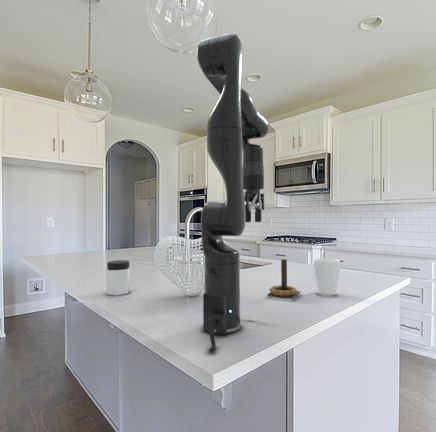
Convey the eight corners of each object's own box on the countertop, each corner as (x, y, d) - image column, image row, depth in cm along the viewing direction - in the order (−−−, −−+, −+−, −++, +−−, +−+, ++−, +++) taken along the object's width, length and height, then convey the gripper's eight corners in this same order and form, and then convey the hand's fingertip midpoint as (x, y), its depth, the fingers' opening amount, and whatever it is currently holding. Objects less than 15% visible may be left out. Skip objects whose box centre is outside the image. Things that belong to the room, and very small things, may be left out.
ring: (292, 297, 104) (292, 292, 104) (265, 294, 109) (265, 289, 109) (300, 291, 112) (300, 286, 112) (275, 288, 117) (275, 284, 117)
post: (292, 301, 105) (292, 261, 105) (268, 297, 109) (267, 260, 110) (300, 295, 113) (299, 258, 113) (276, 292, 117) (276, 257, 117)
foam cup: (345, 295, 112) (345, 260, 112) (329, 299, 107) (329, 262, 107) (324, 290, 120) (323, 257, 120) (308, 294, 115) (308, 259, 115)
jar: (126, 289, 124) (126, 259, 124) (133, 293, 118) (133, 261, 118) (103, 292, 119) (103, 261, 119) (109, 296, 112) (109, 264, 112)
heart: (228, 290, 122) (228, 234, 122) (232, 300, 106) (232, 236, 106) (157, 291, 120) (157, 234, 120) (150, 302, 104) (150, 237, 104)
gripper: (252, 178, 114) (252, 222, 114) (233, 173, 102) (233, 222, 102) (270, 177, 111) (270, 222, 110) (254, 171, 98) (254, 222, 98)
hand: (253, 222), depth 106 cm, fingers open, 8 cm apart
